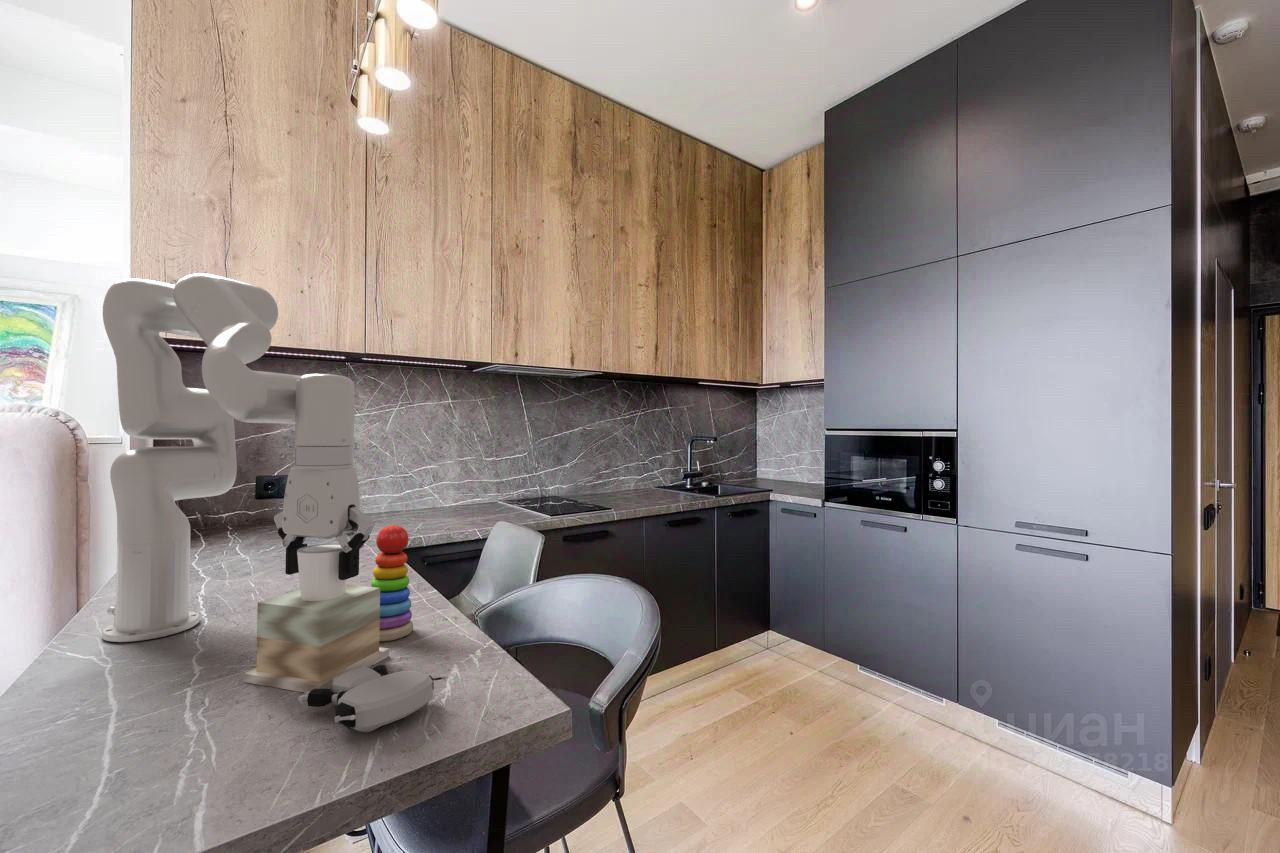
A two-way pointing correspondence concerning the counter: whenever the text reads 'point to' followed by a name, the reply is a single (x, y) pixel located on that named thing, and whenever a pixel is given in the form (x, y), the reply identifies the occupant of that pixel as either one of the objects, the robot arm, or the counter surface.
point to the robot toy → (373, 696)
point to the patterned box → (316, 638)
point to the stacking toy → (393, 583)
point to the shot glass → (320, 572)
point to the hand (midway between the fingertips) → (322, 574)
